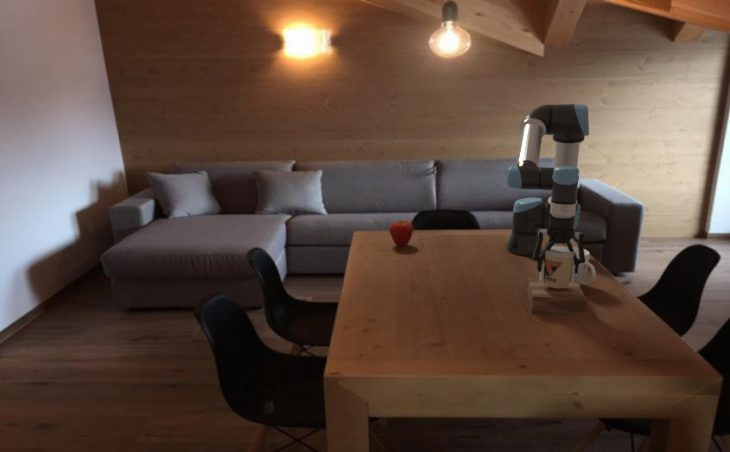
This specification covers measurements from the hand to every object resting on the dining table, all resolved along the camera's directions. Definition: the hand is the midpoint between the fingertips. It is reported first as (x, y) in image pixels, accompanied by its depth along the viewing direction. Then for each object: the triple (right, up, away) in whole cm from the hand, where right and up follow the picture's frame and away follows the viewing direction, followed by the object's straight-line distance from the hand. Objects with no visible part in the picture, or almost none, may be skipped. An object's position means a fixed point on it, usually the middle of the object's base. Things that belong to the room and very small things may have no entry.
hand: (556, 281), depth 165 cm
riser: (0, -8, +2) cm, 8 cm away
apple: (-46, +9, +67) cm, 82 cm away
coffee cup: (0, -1, 0) cm, 1 cm away
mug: (+13, -4, +18) cm, 22 cm away
